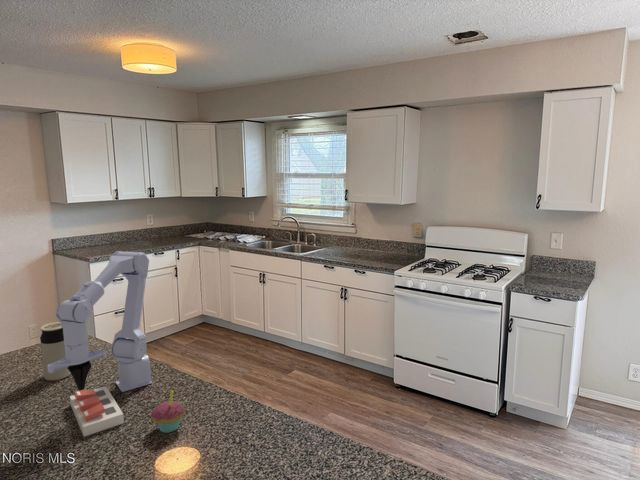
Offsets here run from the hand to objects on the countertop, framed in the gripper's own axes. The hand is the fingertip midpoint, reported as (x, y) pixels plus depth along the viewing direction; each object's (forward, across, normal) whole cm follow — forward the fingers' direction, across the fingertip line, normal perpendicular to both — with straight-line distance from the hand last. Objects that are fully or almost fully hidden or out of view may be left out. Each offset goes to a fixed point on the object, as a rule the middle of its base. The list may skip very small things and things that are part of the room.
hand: (80, 388), depth 121 cm
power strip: (+9, -4, -5) cm, 11 cm away
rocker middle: (+5, -2, 0) cm, 5 cm away
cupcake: (+9, -15, +22) cm, 28 cm away
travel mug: (+9, -2, -34) cm, 35 cm away
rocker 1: (+5, -2, -6) cm, 8 cm away
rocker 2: (+5, -1, +6) cm, 8 cm away
